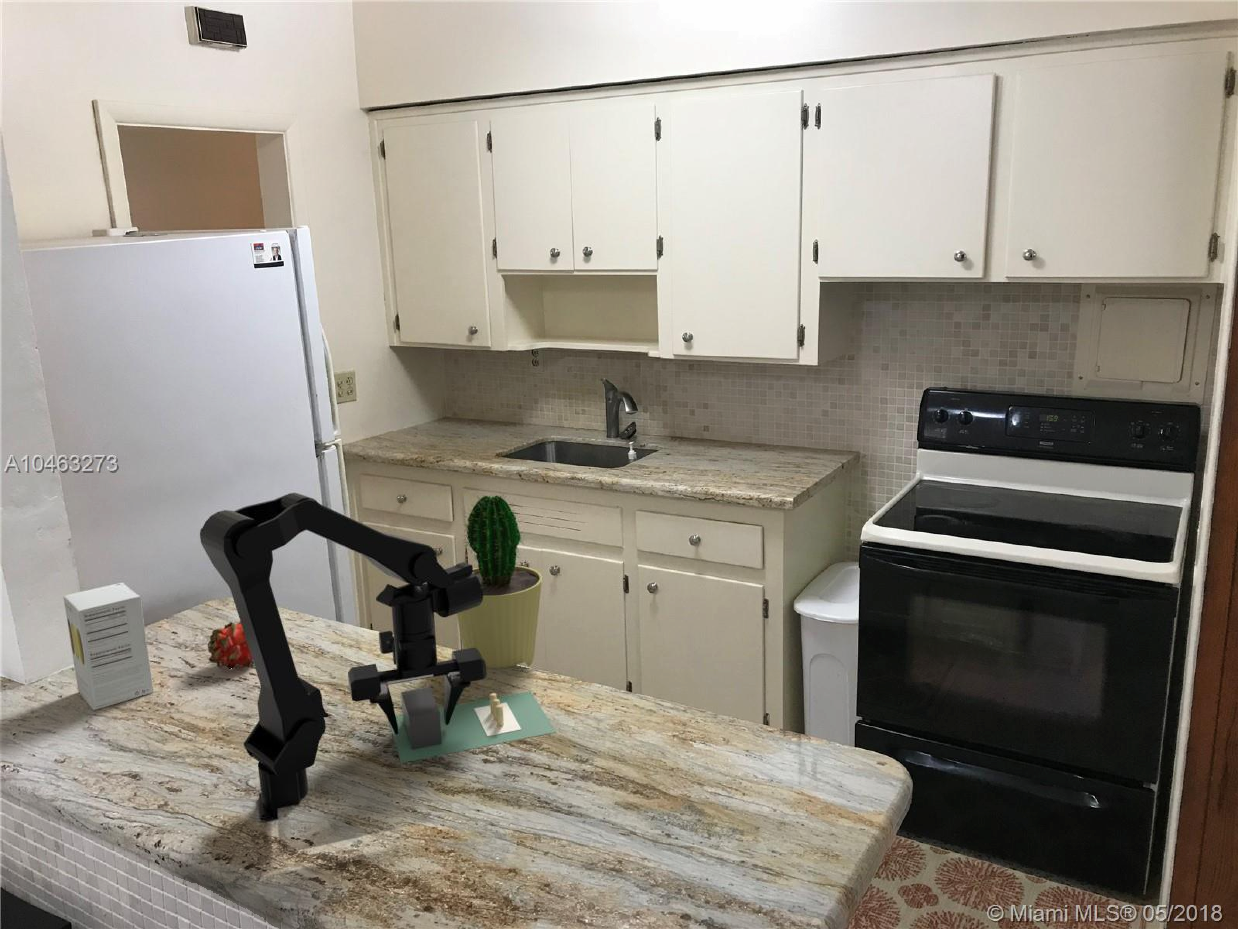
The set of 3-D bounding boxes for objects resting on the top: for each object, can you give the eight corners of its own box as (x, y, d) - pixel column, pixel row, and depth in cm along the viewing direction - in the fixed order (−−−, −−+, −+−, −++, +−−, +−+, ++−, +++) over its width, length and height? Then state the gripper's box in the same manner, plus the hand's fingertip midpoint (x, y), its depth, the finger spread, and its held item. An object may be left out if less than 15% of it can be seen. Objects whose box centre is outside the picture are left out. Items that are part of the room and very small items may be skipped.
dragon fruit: (208, 687, 163) (260, 669, 174) (240, 664, 160) (291, 646, 171) (185, 643, 164) (238, 627, 175) (216, 619, 161) (268, 604, 172)
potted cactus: (560, 649, 171) (554, 484, 164) (520, 686, 157) (511, 507, 150) (483, 638, 177) (473, 477, 170) (438, 673, 163) (426, 500, 156)
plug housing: (441, 744, 137) (439, 711, 136) (411, 750, 136) (409, 717, 134) (428, 709, 147) (426, 678, 146) (400, 714, 146) (398, 683, 145)
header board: (556, 741, 140) (555, 712, 139) (401, 772, 133) (399, 742, 132) (531, 699, 153) (529, 673, 152) (388, 726, 145) (386, 698, 144)
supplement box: (76, 692, 159) (61, 594, 155) (136, 674, 165) (123, 580, 161) (93, 711, 152) (77, 610, 148) (155, 692, 158) (141, 595, 154)
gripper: (468, 598, 147) (474, 693, 150) (340, 616, 141) (349, 715, 144) (484, 624, 137) (490, 726, 140) (347, 645, 130) (357, 751, 134)
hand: (421, 728), depth 140 cm, fingers open, 7 cm apart
